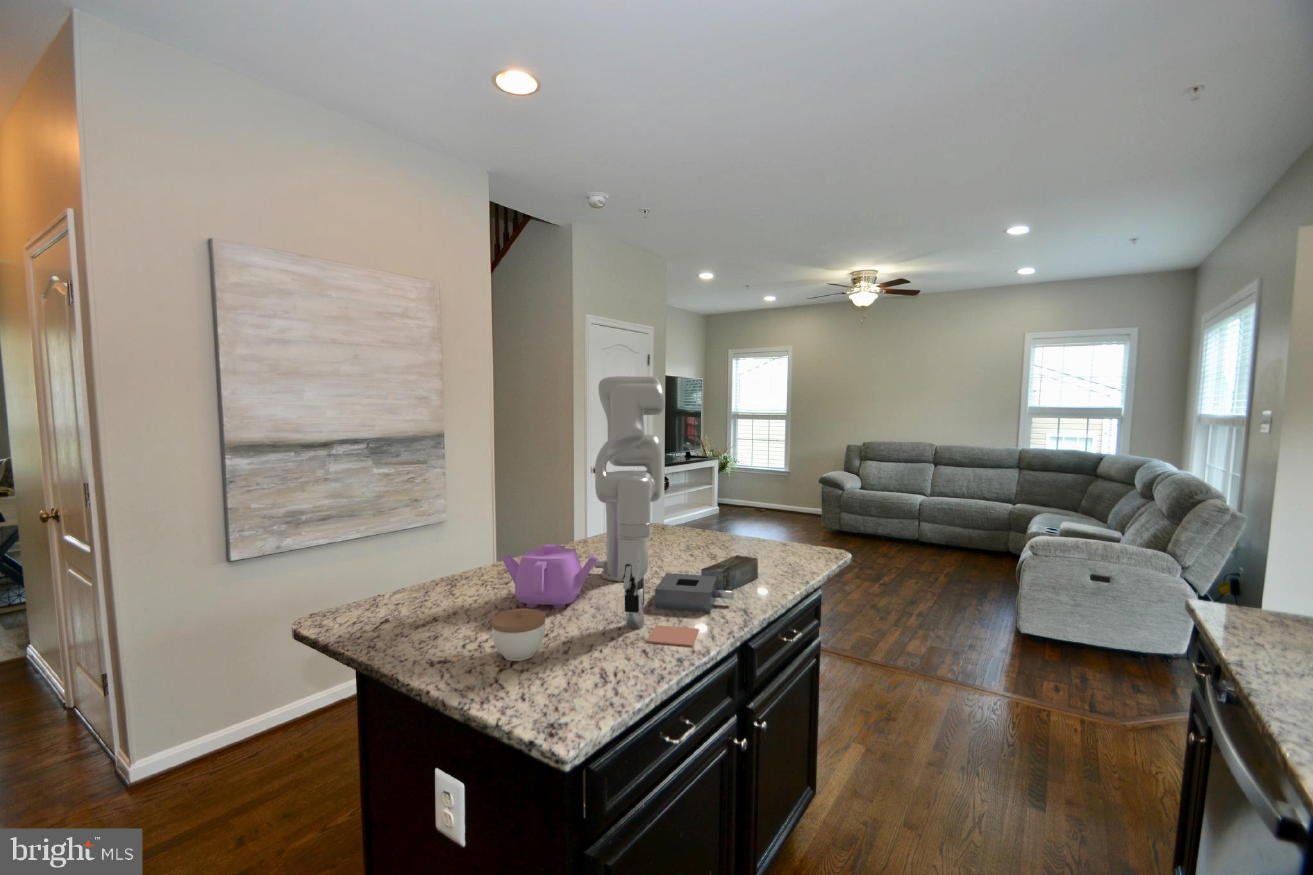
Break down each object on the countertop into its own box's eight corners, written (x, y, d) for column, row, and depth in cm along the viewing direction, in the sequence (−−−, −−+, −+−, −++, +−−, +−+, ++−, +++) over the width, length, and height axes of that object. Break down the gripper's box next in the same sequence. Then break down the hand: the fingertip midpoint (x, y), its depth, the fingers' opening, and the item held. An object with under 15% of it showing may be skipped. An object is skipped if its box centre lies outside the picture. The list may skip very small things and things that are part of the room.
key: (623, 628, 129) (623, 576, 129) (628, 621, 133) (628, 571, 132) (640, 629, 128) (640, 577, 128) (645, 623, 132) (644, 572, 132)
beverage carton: (699, 589, 158) (699, 566, 157) (736, 574, 172) (736, 552, 172) (723, 595, 152) (723, 571, 152) (759, 579, 167) (759, 557, 167)
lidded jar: (524, 639, 123) (523, 597, 123) (556, 652, 116) (556, 608, 116) (481, 656, 115) (480, 610, 114) (513, 671, 108) (512, 623, 108)
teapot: (600, 602, 146) (599, 545, 146) (538, 620, 134) (537, 557, 133) (559, 585, 161) (559, 533, 160) (500, 600, 148) (499, 543, 148)
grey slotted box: (655, 608, 142) (655, 588, 142) (666, 590, 156) (666, 573, 155) (730, 614, 138) (730, 594, 137) (736, 595, 151) (736, 577, 151)
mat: (646, 642, 121) (646, 640, 121) (656, 626, 130) (656, 624, 130) (692, 646, 119) (692, 644, 119) (699, 630, 128) (699, 628, 128)
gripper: (628, 522, 139) (628, 595, 139) (607, 537, 122) (607, 620, 123) (658, 523, 137) (658, 597, 138) (640, 538, 121) (641, 623, 121)
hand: (634, 607), depth 130 cm, fingers closed on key, 4 cm apart
